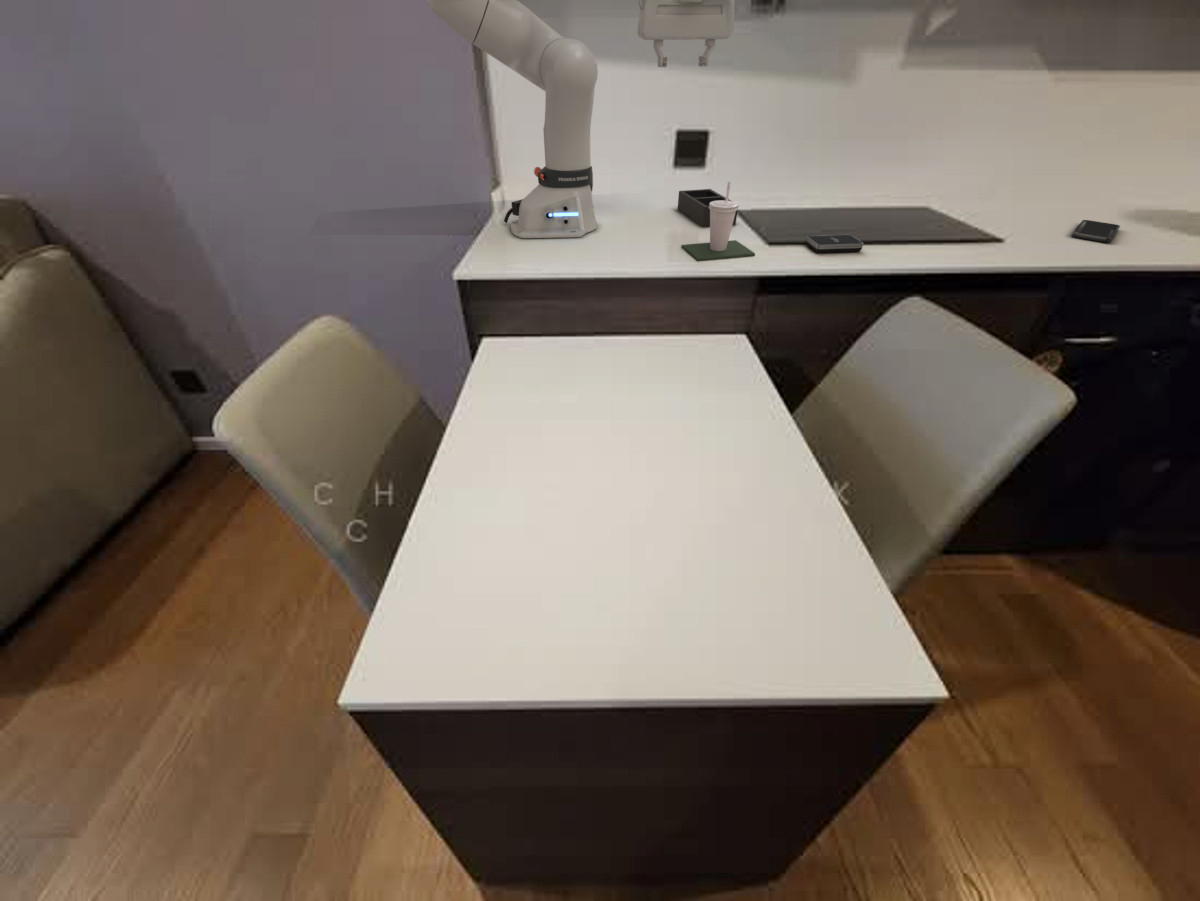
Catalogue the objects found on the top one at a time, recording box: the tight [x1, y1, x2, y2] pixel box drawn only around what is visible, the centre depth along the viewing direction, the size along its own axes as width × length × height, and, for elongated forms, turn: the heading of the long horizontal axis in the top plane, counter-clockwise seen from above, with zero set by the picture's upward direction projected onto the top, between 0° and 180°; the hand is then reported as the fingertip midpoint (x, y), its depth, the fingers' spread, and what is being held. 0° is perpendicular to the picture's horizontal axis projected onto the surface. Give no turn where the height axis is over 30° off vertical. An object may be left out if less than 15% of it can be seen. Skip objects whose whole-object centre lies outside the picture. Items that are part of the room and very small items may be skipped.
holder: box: [677, 188, 739, 228], centre depth 143 cm, size 18×10×5 cm, turn 14°
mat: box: [680, 239, 756, 262], centre depth 122 cm, size 14×10×1 cm
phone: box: [1071, 219, 1121, 244], centre depth 131 cm, size 8×1×15 cm
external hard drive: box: [805, 234, 864, 254], centre depth 123 cm, size 7×11×2 cm, turn 95°
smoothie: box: [709, 181, 739, 251], centre depth 118 cm, size 6×6×14 cm
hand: (682, 66), depth 114 cm, fingers open, 8 cm apart
